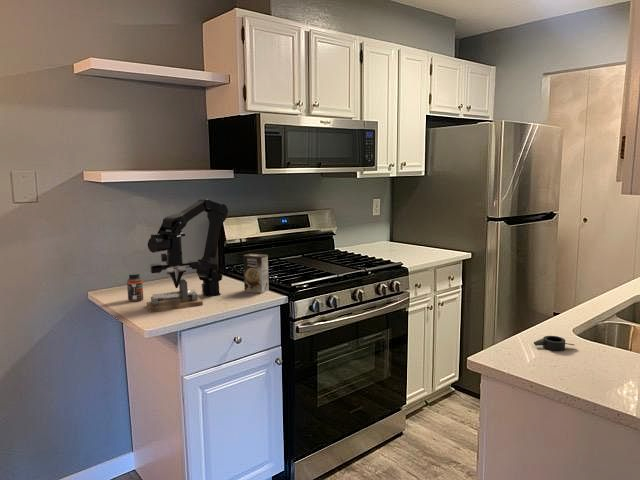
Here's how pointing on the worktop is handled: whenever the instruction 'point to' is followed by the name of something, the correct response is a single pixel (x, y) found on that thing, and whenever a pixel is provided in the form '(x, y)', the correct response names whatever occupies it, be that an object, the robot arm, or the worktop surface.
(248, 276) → the coffee box
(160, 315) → the worktop surface
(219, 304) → the worktop surface
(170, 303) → the board
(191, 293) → the pipe rig
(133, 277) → the supplement bottle
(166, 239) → the robot arm
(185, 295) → the slotted grey bracket
